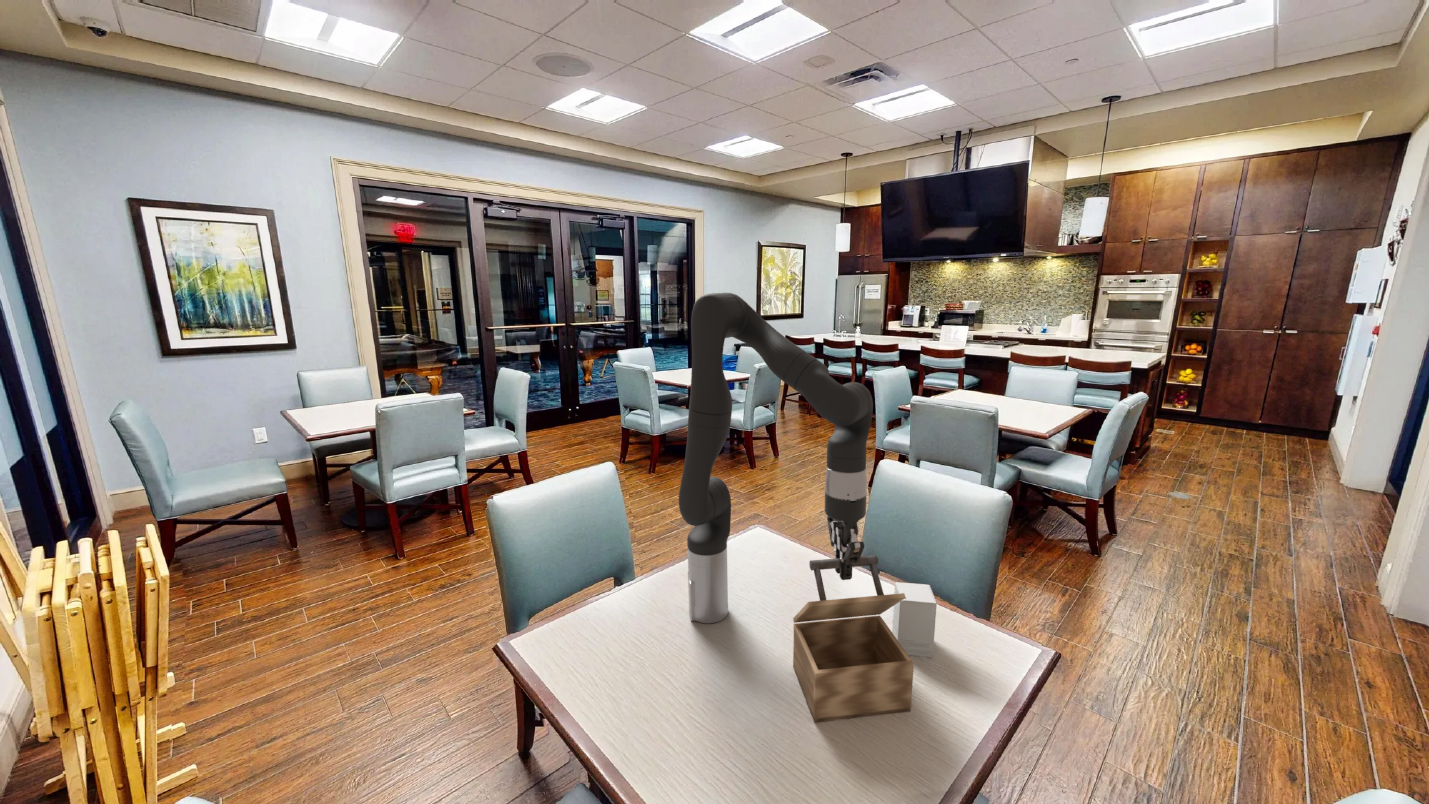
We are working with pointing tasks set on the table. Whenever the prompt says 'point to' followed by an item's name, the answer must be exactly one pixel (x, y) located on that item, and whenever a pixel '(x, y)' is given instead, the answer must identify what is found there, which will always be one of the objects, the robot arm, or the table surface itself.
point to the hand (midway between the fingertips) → (843, 575)
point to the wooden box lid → (848, 605)
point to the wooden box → (851, 668)
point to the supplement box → (915, 619)
